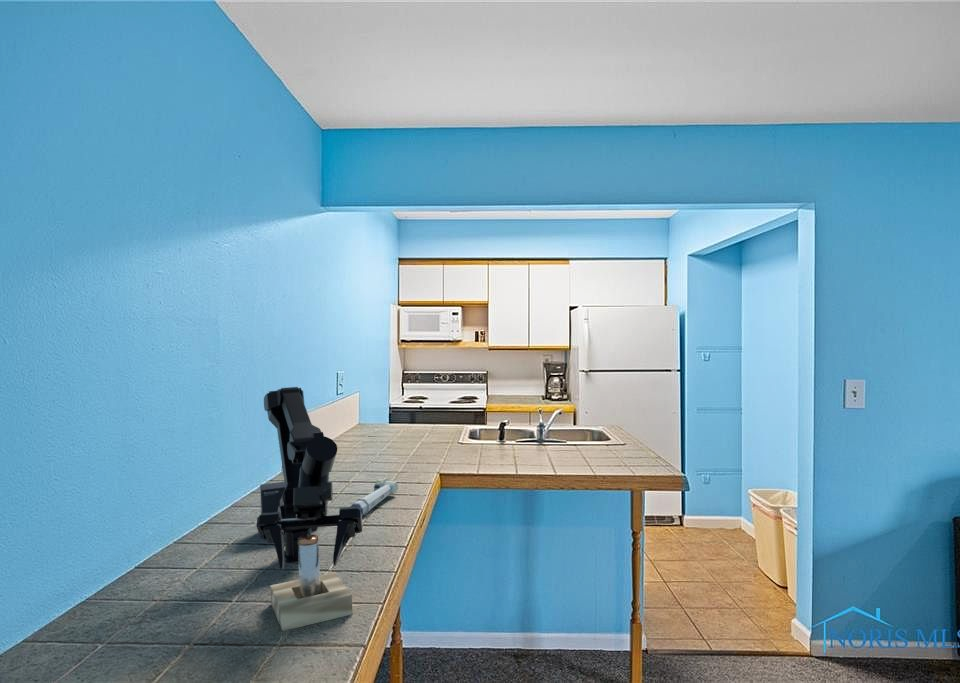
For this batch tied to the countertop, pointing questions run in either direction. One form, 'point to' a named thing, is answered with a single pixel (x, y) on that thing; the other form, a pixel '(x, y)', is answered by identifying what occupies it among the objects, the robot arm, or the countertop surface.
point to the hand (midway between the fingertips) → (308, 566)
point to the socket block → (310, 602)
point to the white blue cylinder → (376, 495)
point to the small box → (272, 497)
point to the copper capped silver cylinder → (309, 565)
